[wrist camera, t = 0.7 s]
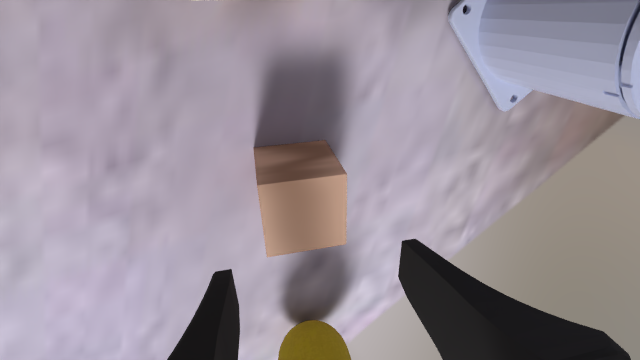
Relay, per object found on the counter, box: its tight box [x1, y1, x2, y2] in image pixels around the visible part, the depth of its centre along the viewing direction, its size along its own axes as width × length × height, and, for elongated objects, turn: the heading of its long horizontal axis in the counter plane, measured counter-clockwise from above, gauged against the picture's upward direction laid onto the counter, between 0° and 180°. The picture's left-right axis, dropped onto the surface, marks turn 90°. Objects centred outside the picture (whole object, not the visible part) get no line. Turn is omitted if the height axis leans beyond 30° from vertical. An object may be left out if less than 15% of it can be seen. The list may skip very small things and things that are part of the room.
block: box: [254, 140, 347, 257], centre depth 19 cm, size 4×4×5 cm
